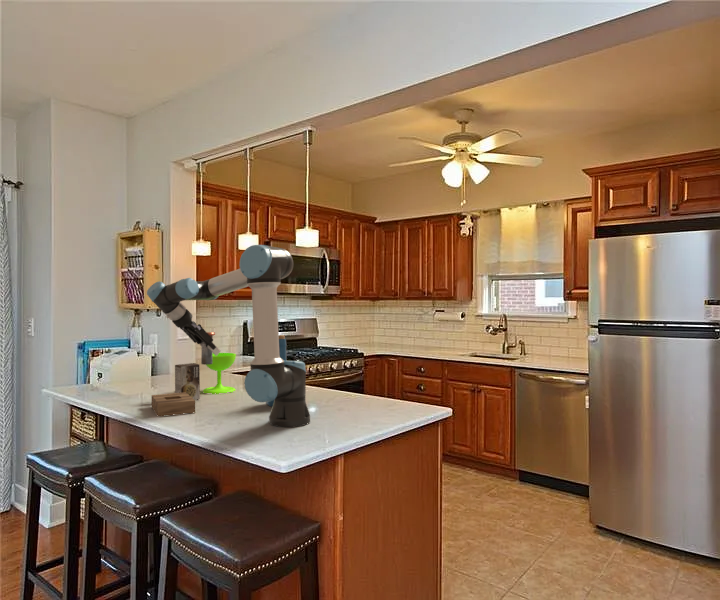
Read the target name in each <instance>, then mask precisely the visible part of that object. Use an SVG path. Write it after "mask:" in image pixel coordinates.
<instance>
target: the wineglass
mask: <svg viewBox="0 0 720 600" xmlns="http://www.w3.org/2000/svg"><path fill="white" fill-rule="evenodd" d="M236 357H237V354H236V353H235V352H220V353H219V354H218V355H217V356H215V355H214V354H213V352H212V364H208V365H205V366H206V367H207V368H209V369H210V370H211V371H216V375H217V376H216V385H215V386H208V387H206V388H204V389H203V390H202V391H203V392H204V393H203V392H202V393H203V394H205V393H212V394H211V395H220V394H219V393H227V392H232V393H234V392H233V391H235V390H236V388H234V387H233V386H224V385H223V384H222V371H225V370H228V369H229V368H230V367H232V366H233V364H234V363H235V361H236ZM235 392H236V391H235ZM215 393H216V394H215ZM227 394H228V393H227Z"/></svg>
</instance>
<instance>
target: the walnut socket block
mask: <svg viewBox="0 0 720 600" xmlns="http://www.w3.org/2000/svg"><path fill="white" fill-rule="evenodd" d="M151 408H152V410H153V411H154V413H155V414H156V415H158V416H160V417H165V416H164V415H170V416H174V415H173V414H180V415H184V414H183V413H190V414H194V413H193V412H195V413H196V400H194V399H193V398H192V397H191V396H190V395H188V394H187V393H186V392H184V393H175V392H174V393H161V394H160V393H159V394H152V395H151ZM158 416H157V417H158Z"/></svg>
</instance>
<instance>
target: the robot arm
mask: <svg viewBox="0 0 720 600" xmlns="http://www.w3.org/2000/svg"><path fill="white" fill-rule="evenodd" d="M239 258H240V259H239V268H238V269H235V270H232V271H229V272H227V273H224V274H220V275H217V276H215V277H212V278H209V279H206V280H203V281H201V280H200V281H197V280H195V279H193V278H191V277H187V278H182V279H180V280H177V281H175V282H172V283H170V284H167V285H166V284H165V283H164V282H163V281H156V282H155V283H152V284H151V285H150V286H149V287H148V289H147V290H146V295H147V297H148V298H149V299H150V301H151V302H152V303H154V305H156V307H158V309H160V310H161V312H162V313H163V314H164V315H165V318H167V319H169V320H171V321H172V323H173V325H175V327H177V328H178V329H180V330H182V331H183V333H185V335H186V336H188V337H189V338H190V340H192V342H193V343H194V344H197V345H199V346H200V348H202V341H203V342H204V343H205V344H206V347H208V348H209V349H210V350H211V351H212V353H213V354H214V355H215V356H217V355H218V354H219V353H221V350H220V349H219V347H217V345H215V343H214V342H212V341H214V339H212V338H211V337H210V336H209V334H208V333H207V332H208V331H206V329H204V328H203V326H202V325H201V324H200V323H198V324H197V322H195V321H193V320H192V319H193V314H192V313H191V312H190V311H189V309H187V307H186V306H185V305H184V304H183V303H182V302H183V301H213V300H214V301H215V300H216V299H218V298H219V296H223V295H226V294H229V293H232V292H235V291H239V290H242V289H244V288H247V287H249V288H250V289H251V302H252V303H251V304H252V306H251V307H252V326H253V329H252V330H253V347H254V348H253V349H254V351H253V352H254V357H253V359H252V361H250V371H248V372H247V374H246V376H245V378H244V389H245V391H246V393H247V395H248V396H249V397H250V398H251V399H252V400H254V402H257V403H266V402H270V401H273V400H274V404H273V407H271V410H270V413H269V418H268V419H269V421H268V424H270V425H271V426H274V427H281V428H283V427H284V428H289V427H290V428H292V427H293V426H295V427H301V426H300V425H302V426H305V425H304V424H306V425H308V424H310V423H309V422H311V415H310V411H309V409H308V406H307V402H306V393H307V392H306V391H307V389H306V384H307V383H306V382H307V381H306V377H307V375H306V374H307V370H306V363H305V362H304V361H301V360H299V361H297V360H287V361H286V360H283V359H281V358H280V356H279V316H278V315H279V314H278V313H279V311H278V291H277V290H278V287H279V286H280V285H281V284H282V282H281V280H283V279H285V278H287V277H288V276H290V274H291V273H292V271H293V269H294V260H293V256H292V254H291V253H290V252H289V251H288V250H286V249H285V248H283V247H278V246H271V245H266V244H252V245H250V246H249V247H247V248H245V250H244V251H243V252H242V253H241V256H240V257H239ZM307 423H308V424H307Z"/></svg>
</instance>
